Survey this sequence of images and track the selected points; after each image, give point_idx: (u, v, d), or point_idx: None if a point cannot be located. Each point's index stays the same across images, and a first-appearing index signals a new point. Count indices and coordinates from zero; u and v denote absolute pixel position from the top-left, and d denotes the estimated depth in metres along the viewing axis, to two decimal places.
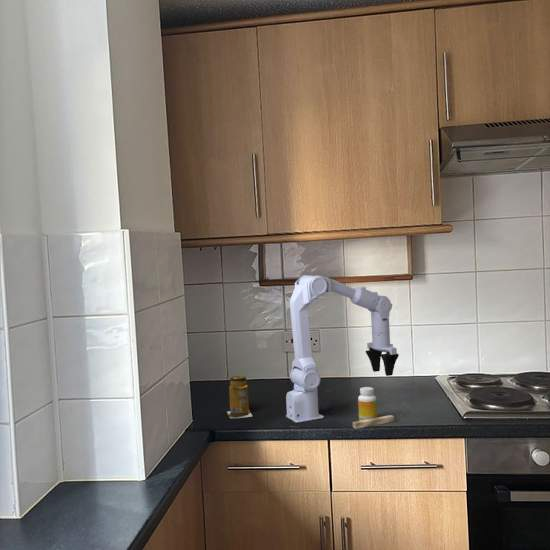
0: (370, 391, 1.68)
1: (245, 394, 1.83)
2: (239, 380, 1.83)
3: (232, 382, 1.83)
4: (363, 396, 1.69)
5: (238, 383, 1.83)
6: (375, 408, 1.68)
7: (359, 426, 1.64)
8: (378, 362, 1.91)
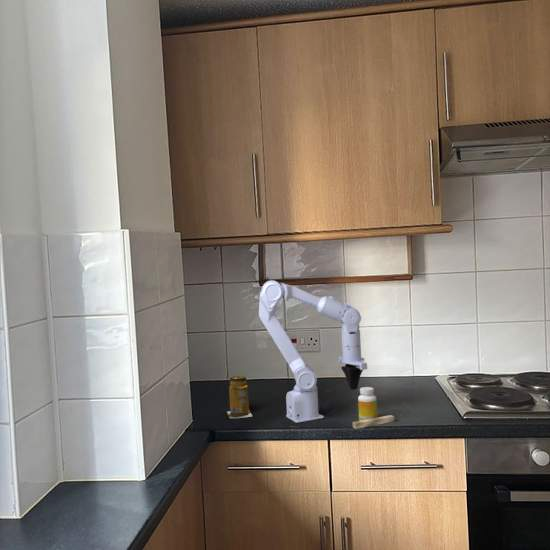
0: (370, 391, 1.68)
1: (245, 394, 1.83)
2: (239, 380, 1.83)
3: (232, 382, 1.83)
4: (363, 396, 1.69)
5: (238, 383, 1.83)
6: (375, 408, 1.68)
7: (359, 426, 1.64)
8: None
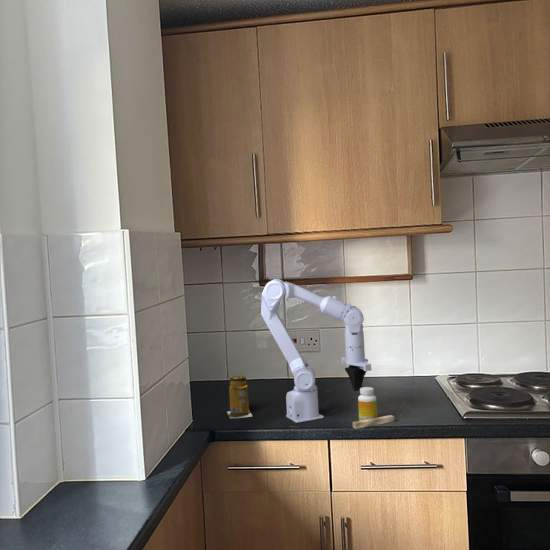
0: (370, 391, 1.68)
1: (245, 394, 1.83)
2: (239, 380, 1.83)
3: (232, 382, 1.83)
4: (363, 396, 1.69)
5: (238, 383, 1.83)
6: (375, 408, 1.68)
7: (359, 426, 1.64)
8: None
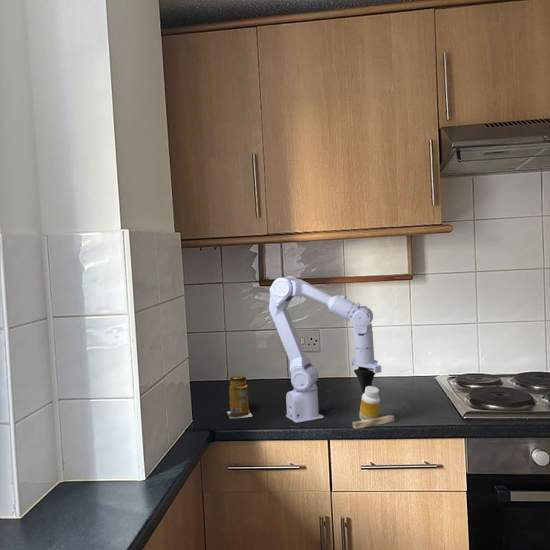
0: (375, 393, 1.66)
1: (245, 394, 1.83)
2: (239, 380, 1.83)
3: (232, 382, 1.83)
4: (367, 397, 1.66)
5: (238, 383, 1.83)
6: (377, 409, 1.67)
7: (359, 426, 1.64)
8: None
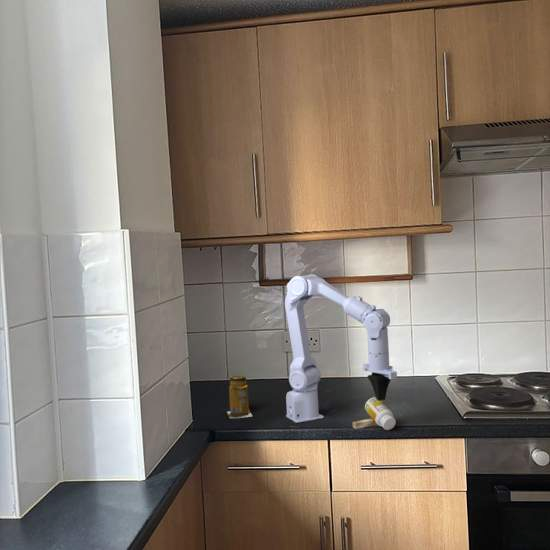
0: None
1: (245, 394, 1.83)
2: (239, 380, 1.83)
3: (232, 382, 1.83)
4: (380, 423, 1.61)
5: (238, 383, 1.83)
6: None
7: (359, 426, 1.64)
8: None
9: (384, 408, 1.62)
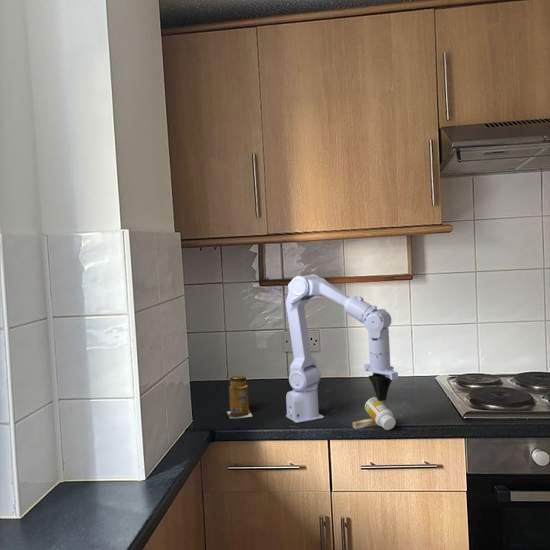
0: None
1: (245, 394, 1.83)
2: (239, 380, 1.83)
3: (232, 382, 1.83)
4: (380, 423, 1.61)
5: (238, 383, 1.82)
6: None
7: (359, 426, 1.64)
8: None
9: (384, 408, 1.62)
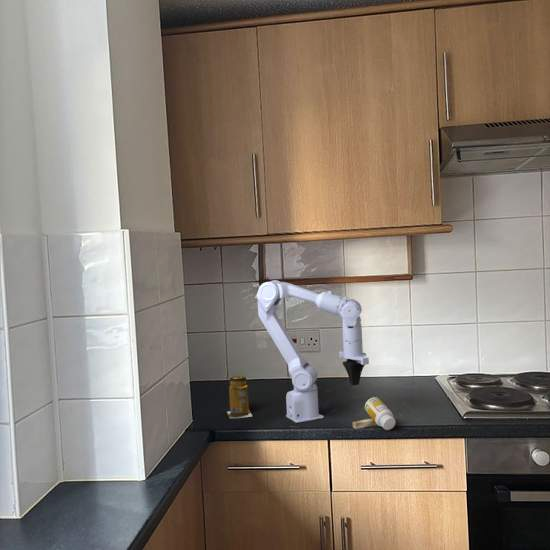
0: None
1: (245, 394, 1.83)
2: (239, 380, 1.83)
3: (232, 382, 1.83)
4: (380, 423, 1.61)
5: (238, 383, 1.83)
6: None
7: (359, 426, 1.64)
8: None
9: (384, 408, 1.62)
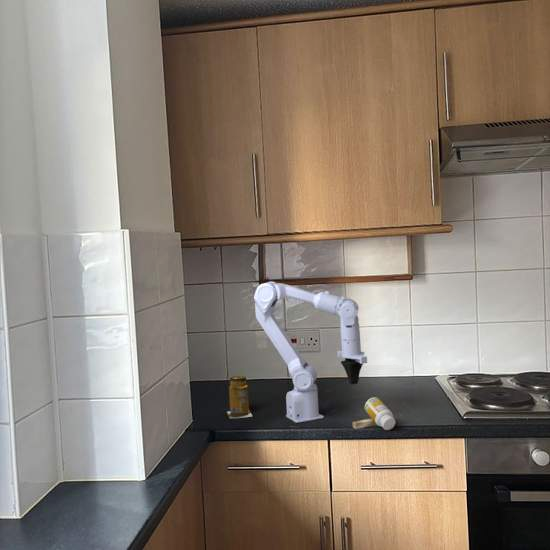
0: None
1: (245, 394, 1.83)
2: (239, 380, 1.83)
3: (232, 382, 1.83)
4: (380, 423, 1.61)
5: (238, 383, 1.82)
6: None
7: (359, 426, 1.64)
8: None
9: (383, 408, 1.62)
